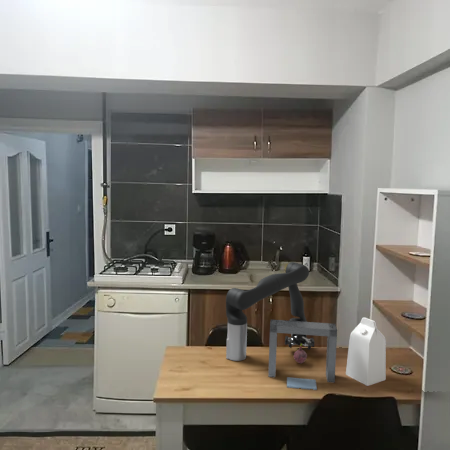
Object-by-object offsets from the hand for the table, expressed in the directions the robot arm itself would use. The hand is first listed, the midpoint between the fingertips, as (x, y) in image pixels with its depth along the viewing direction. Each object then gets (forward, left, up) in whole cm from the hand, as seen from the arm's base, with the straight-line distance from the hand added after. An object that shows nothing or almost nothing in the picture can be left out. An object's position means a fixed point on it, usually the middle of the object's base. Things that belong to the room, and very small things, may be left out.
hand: (299, 346), depth 202 cm
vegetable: (0, -6, -6) cm, 8 cm away
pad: (0, -26, -6) cm, 26 cm away
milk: (+28, -14, -6) cm, 32 cm away
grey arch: (0, -18, -6) cm, 19 cm away
